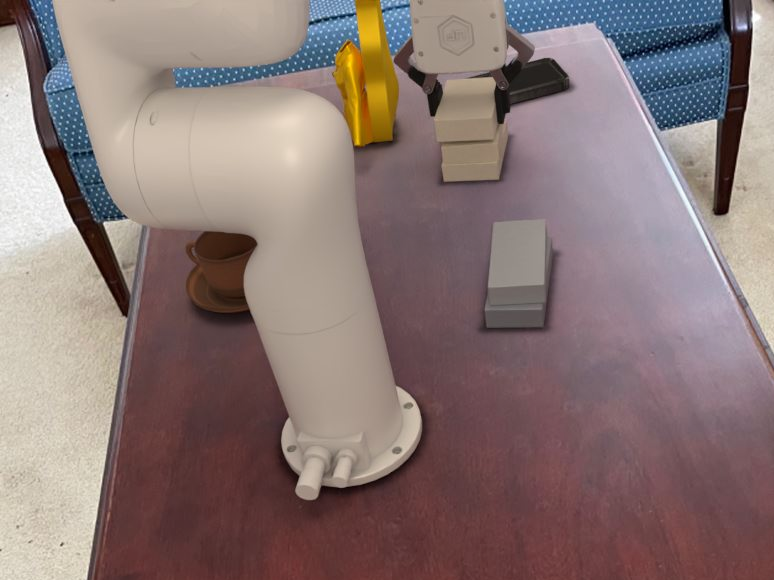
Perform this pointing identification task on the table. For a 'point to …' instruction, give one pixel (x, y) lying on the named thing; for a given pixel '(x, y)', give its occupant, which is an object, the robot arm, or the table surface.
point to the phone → (535, 80)
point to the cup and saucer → (219, 271)
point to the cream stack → (474, 157)
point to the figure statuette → (368, 78)
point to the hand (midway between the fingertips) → (471, 118)
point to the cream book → (467, 110)
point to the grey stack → (518, 274)
